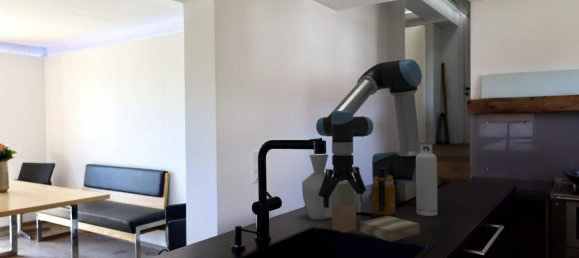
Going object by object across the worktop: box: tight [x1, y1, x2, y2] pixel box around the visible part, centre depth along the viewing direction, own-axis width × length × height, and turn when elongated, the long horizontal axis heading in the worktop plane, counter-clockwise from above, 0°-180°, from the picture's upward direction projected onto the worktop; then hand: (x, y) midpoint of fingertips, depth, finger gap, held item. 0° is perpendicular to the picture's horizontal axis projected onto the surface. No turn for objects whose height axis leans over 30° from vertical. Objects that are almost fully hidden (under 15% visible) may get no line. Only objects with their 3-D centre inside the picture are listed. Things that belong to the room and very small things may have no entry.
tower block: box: [331, 204, 357, 233], centre depth 140 cm, size 6×6×8 cm
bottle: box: [415, 143, 438, 217], centre depth 160 cm, size 8×8×28 cm
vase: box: [301, 153, 337, 221], centre depth 158 cm, size 14×14×25 cm
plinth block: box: [359, 216, 421, 243], centre depth 134 cm, size 14×14×4 cm
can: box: [334, 180, 355, 207], centre depth 173 cm, size 9×9×12 cm
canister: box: [370, 167, 396, 219], centre depth 153 cm, size 9×11×20 cm
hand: (343, 214), depth 139 cm, fingers open, 13 cm apart
